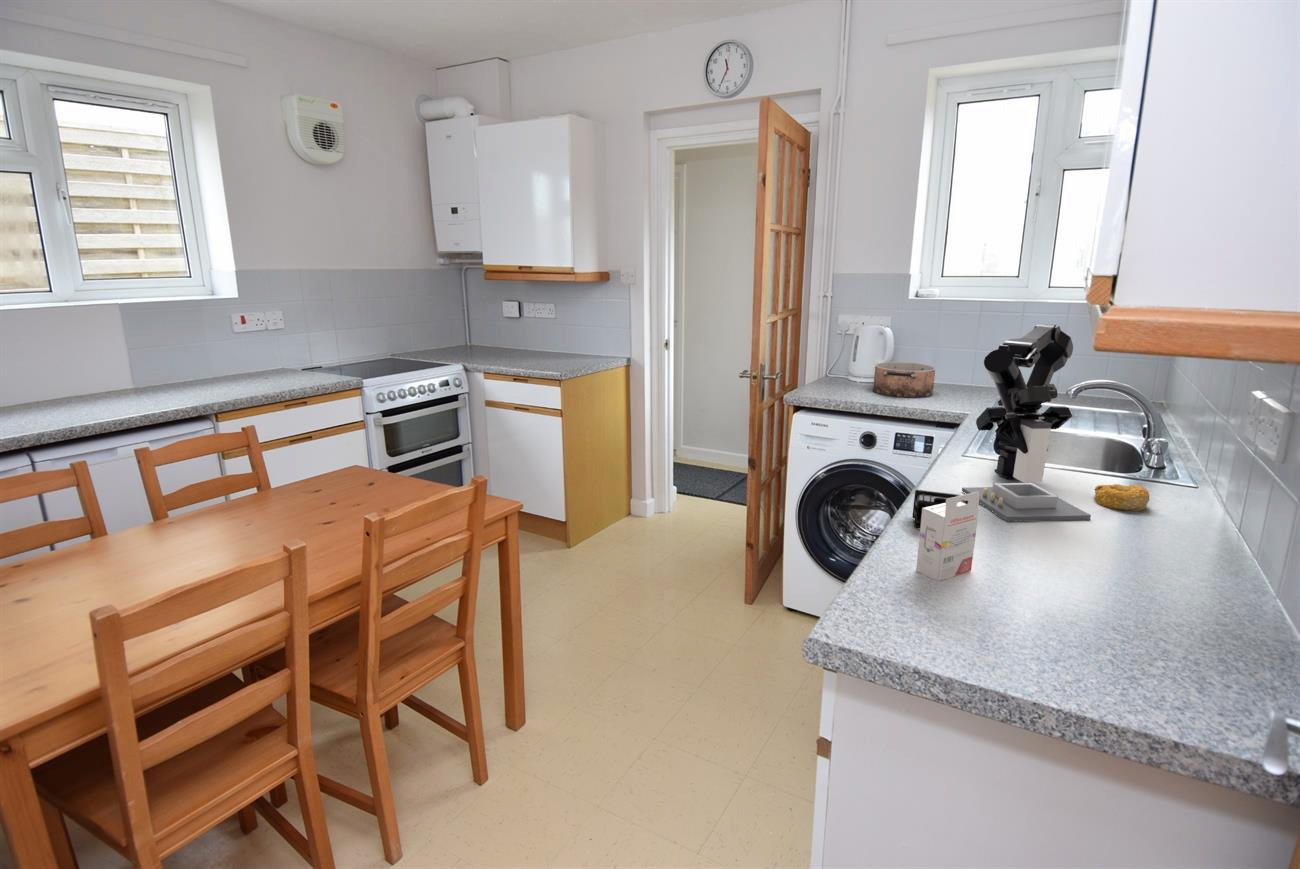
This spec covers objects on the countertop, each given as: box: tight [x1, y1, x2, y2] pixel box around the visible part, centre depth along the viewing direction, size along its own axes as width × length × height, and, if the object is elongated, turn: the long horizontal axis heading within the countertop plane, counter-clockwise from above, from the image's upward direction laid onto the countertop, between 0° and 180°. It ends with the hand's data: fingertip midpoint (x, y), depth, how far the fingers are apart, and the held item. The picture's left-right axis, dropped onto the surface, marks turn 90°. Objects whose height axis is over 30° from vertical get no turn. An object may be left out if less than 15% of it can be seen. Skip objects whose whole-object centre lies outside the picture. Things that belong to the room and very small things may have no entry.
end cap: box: [912, 489, 968, 529], centre depth 135 cm, size 10×7×7 cm
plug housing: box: [1013, 419, 1052, 484], centre depth 144 cm, size 4×4×13 cm
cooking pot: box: [872, 361, 936, 399], centre depth 266 cm, size 30×22×11 cm
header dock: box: [961, 482, 1092, 522], centre depth 147 cm, size 18×18×4 cm
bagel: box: [1094, 483, 1150, 512], centre depth 148 cm, size 10×11×5 cm
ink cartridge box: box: [915, 492, 980, 582], centre depth 114 cm, size 9×5×15 cm, turn 117°
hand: (1035, 452), depth 142 cm, fingers closed on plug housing, 4 cm apart
